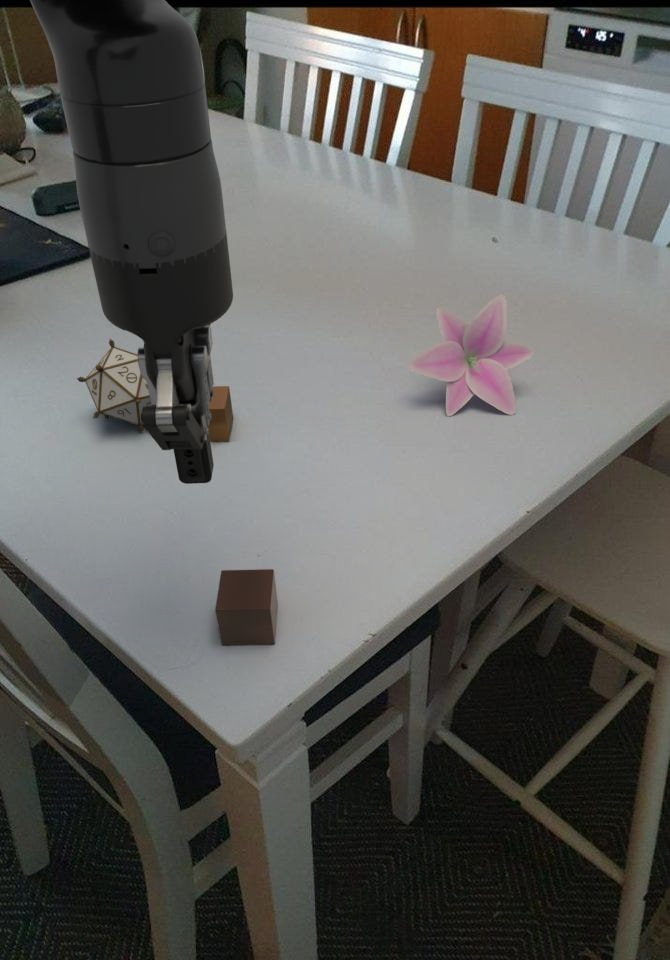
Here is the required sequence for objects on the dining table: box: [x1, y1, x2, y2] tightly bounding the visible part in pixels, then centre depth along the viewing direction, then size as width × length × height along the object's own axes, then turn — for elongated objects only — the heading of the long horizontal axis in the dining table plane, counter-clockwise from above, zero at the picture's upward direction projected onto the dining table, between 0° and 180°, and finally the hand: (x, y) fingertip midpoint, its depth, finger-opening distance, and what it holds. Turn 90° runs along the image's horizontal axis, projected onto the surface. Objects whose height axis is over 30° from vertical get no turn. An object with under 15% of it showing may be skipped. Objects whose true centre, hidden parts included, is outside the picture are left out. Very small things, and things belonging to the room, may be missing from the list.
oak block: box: [207, 385, 234, 443], centre depth 81 cm, size 4×4×4 cm
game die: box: [76, 338, 151, 434], centre depth 81 cm, size 9×8×10 cm
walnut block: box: [214, 568, 279, 646], centre depth 61 cm, size 4×4×4 cm
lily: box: [406, 294, 535, 417], centre depth 83 cm, size 12×12×10 cm
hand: (197, 476), depth 55 cm, fingers closed
